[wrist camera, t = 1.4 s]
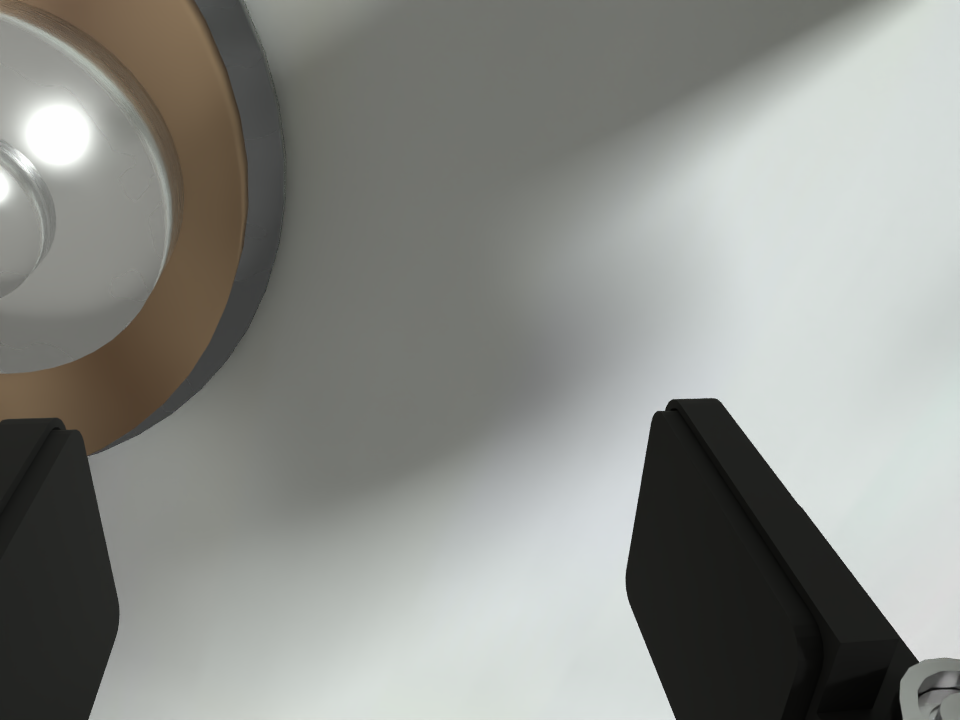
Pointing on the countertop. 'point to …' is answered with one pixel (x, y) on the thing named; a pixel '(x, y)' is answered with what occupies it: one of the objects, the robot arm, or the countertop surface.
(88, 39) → the cover
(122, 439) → the turntable base
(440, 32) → the countertop surface
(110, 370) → the turntable
